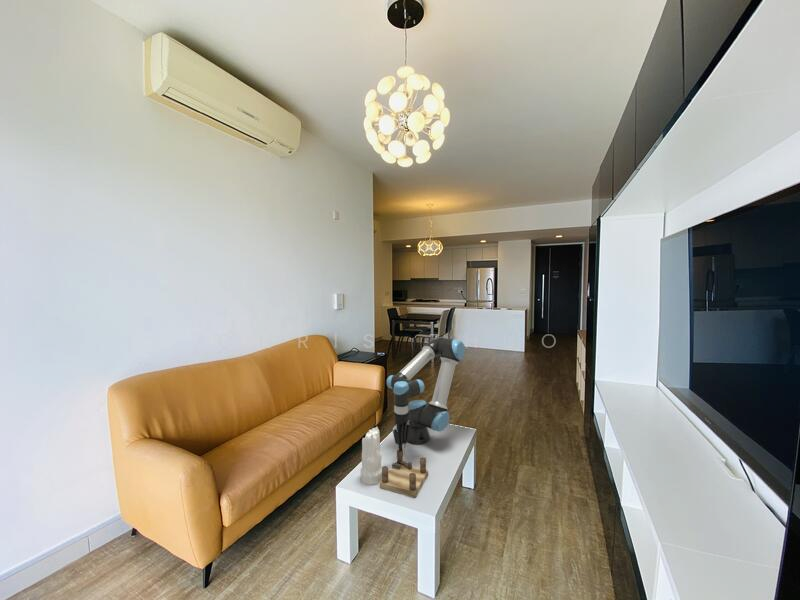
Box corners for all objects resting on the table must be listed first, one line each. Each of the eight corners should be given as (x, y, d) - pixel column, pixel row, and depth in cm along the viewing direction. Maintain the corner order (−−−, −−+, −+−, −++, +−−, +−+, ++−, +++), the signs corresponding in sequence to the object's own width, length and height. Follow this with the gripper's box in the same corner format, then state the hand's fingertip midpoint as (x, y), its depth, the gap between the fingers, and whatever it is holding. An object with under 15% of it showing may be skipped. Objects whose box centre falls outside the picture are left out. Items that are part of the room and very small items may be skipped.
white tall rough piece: (362, 486, 149) (361, 435, 148) (359, 473, 159) (358, 425, 158) (384, 482, 152) (383, 432, 150) (380, 469, 162) (379, 422, 161)
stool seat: (395, 466, 165) (395, 450, 164) (428, 474, 157) (428, 457, 157) (379, 487, 148) (379, 469, 148) (415, 497, 141) (415, 478, 140)
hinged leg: (395, 462, 164) (395, 451, 163) (399, 459, 166) (399, 448, 166) (409, 469, 157) (409, 457, 157) (413, 466, 160) (413, 455, 159)
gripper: (404, 405, 171) (405, 447, 173) (387, 413, 161) (388, 457, 164) (414, 410, 165) (415, 452, 168) (397, 418, 156) (398, 463, 158)
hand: (401, 455), depth 166 cm, fingers closed
